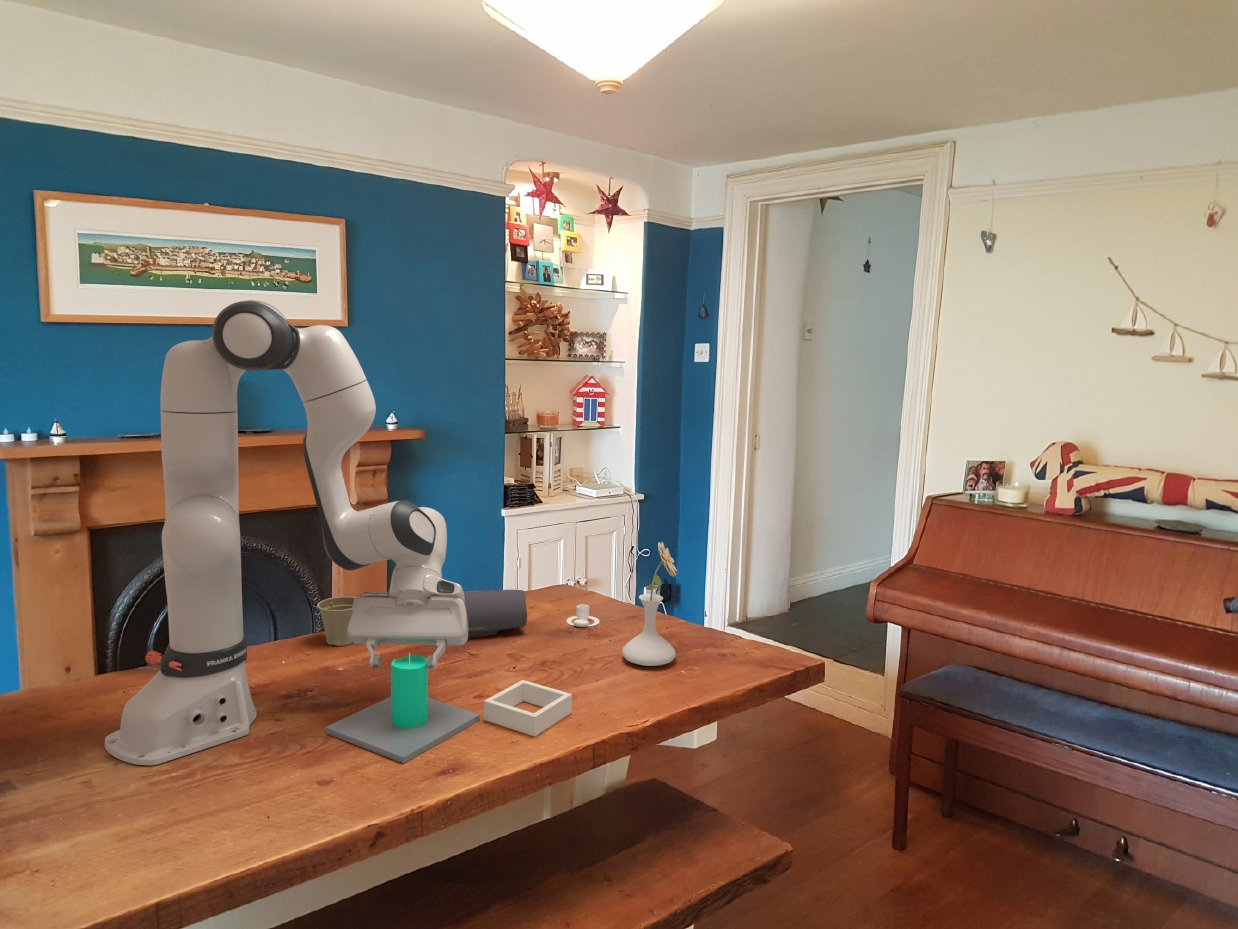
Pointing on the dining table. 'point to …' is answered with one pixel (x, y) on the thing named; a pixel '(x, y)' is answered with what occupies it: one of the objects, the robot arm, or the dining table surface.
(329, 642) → the flower pot
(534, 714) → the square frame
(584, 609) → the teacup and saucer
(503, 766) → the dining table surface
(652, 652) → the flower in vase
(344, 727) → the slate tile
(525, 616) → the bluetooth speaker
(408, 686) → the candle
